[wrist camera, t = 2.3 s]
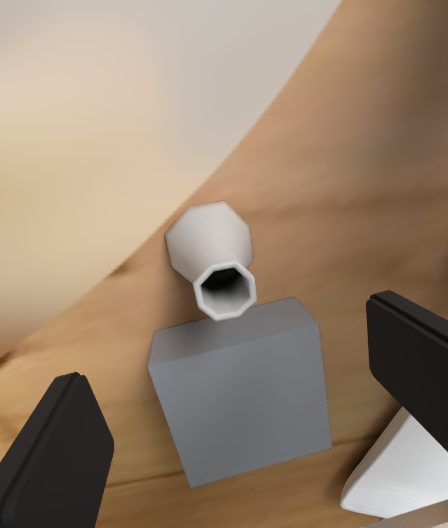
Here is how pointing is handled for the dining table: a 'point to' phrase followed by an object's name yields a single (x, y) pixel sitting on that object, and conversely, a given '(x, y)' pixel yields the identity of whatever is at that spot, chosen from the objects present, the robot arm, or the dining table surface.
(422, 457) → the salad plate
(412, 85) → the dining table surface
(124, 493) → the dining table surface
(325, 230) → the dining table surface
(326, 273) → the dining table surface
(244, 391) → the slate block
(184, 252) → the flask
